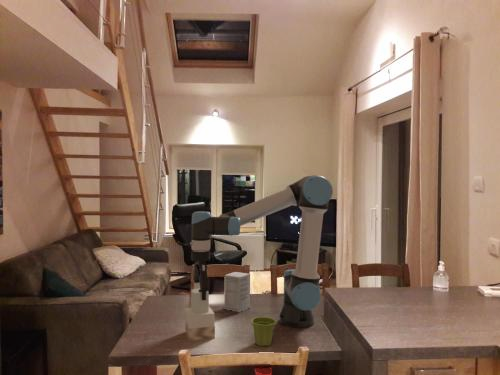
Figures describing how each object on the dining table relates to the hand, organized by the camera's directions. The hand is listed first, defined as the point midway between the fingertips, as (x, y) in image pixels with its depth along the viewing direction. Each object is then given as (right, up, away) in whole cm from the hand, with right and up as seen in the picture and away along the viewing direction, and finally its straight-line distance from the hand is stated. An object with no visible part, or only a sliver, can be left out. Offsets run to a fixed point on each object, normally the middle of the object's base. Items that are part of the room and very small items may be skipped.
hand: (200, 303), depth 162 cm
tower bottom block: (0, -13, 0) cm, 13 cm away
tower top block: (0, -8, 0) cm, 8 cm away
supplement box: (+14, -13, +35) cm, 39 cm away
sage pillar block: (0, -3, 0) cm, 3 cm away
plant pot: (+25, -13, -8) cm, 29 cm away
